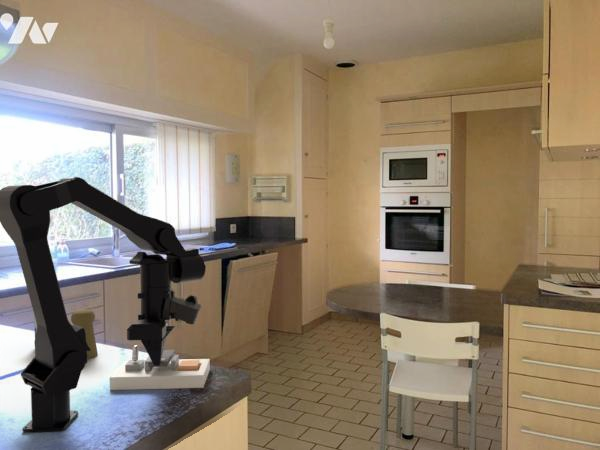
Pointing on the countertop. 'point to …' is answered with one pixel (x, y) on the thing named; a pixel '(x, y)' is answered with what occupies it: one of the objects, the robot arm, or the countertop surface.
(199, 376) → the switch panel
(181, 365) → the push button
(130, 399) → the countertop surface
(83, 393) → the countertop surface
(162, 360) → the rocker switch
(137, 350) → the toggle lever
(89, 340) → the cork
